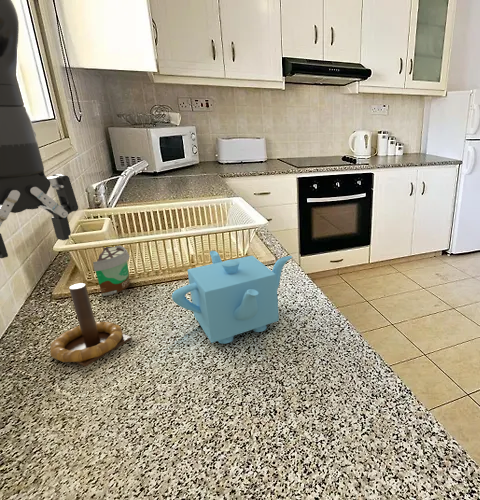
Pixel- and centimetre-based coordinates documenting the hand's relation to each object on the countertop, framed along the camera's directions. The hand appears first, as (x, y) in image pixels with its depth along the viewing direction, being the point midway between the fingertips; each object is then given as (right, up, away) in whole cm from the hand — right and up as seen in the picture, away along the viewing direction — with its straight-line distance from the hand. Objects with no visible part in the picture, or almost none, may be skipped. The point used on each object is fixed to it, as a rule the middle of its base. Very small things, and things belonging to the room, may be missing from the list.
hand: (34, 247), depth 58 cm
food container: (-8, -10, +35) cm, 37 cm away
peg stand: (+1, -19, +12) cm, 23 cm away
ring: (+1, -17, +11) cm, 20 cm away
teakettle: (+26, -16, +22) cm, 38 cm away
